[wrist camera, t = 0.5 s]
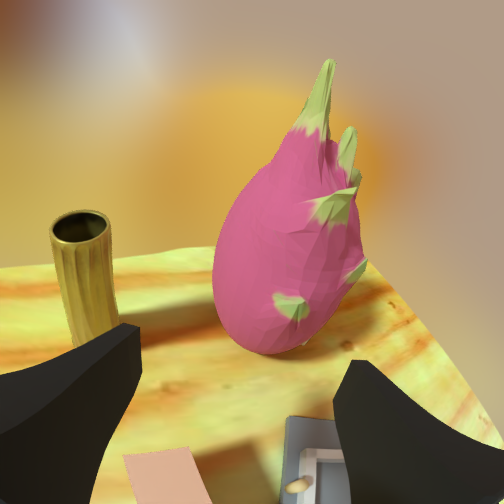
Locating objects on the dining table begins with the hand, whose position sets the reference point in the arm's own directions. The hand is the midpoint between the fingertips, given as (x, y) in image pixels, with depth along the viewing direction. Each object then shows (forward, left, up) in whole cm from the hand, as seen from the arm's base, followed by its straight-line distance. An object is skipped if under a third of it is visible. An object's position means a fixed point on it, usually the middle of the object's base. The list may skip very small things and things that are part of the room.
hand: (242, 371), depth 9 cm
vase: (+10, +14, -18) cm, 25 cm away
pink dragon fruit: (+18, -3, -18) cm, 26 cm away
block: (-5, +1, -18) cm, 19 cm away
